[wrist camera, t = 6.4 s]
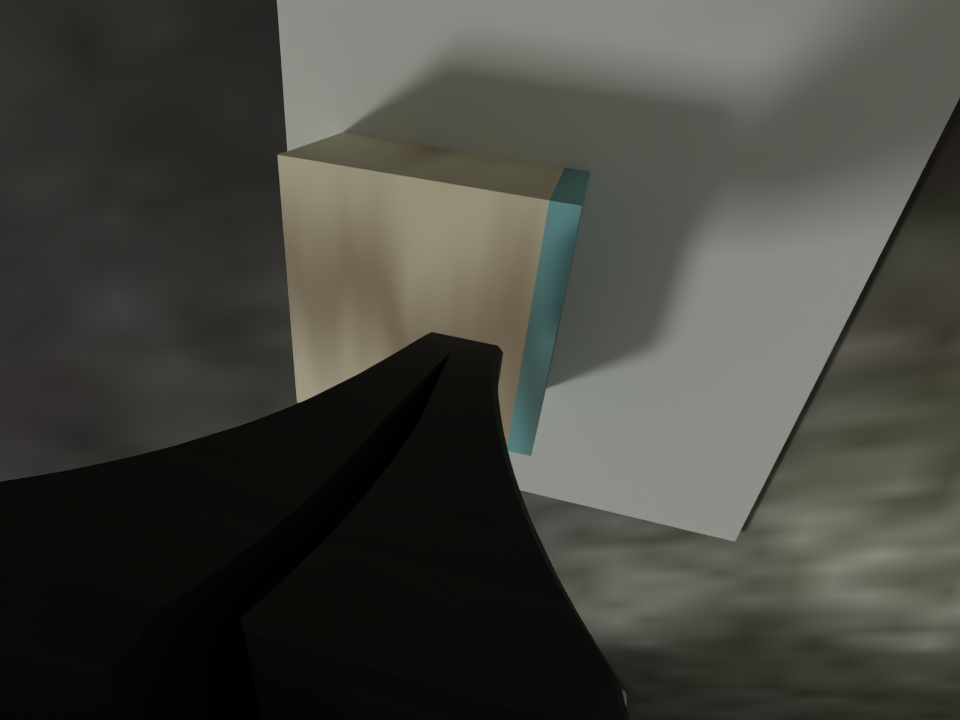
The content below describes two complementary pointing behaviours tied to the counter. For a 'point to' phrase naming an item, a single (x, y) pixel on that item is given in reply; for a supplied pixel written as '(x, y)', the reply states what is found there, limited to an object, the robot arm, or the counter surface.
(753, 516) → the counter surface
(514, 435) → the maple block
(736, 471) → the grey rubber mat
